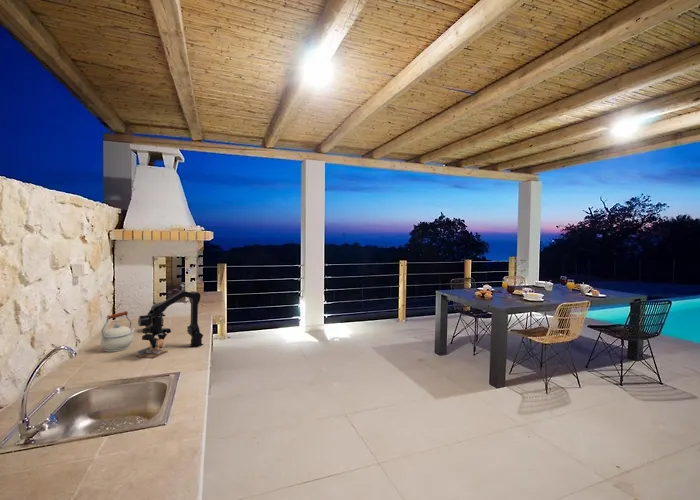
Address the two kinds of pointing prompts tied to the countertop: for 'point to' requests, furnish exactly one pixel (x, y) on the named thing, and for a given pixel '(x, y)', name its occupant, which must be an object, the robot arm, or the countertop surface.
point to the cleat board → (150, 353)
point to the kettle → (117, 335)
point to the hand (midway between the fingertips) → (156, 346)
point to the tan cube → (158, 344)
